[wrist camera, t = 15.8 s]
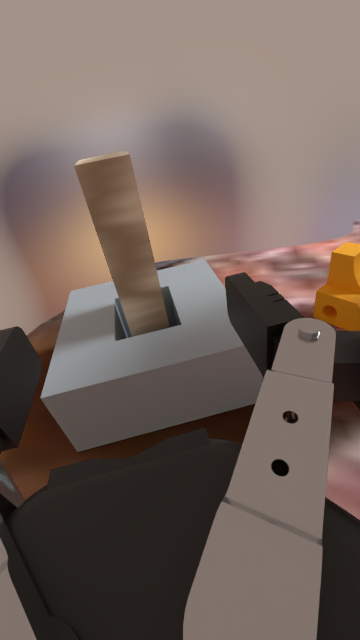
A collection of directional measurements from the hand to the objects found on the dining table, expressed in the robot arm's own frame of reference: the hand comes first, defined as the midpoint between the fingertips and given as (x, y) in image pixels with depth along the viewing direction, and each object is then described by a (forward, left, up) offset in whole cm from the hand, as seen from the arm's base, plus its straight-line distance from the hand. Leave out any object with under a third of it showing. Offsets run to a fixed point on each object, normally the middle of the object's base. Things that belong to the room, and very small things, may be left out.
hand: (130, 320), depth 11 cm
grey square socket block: (0, -10, -12) cm, 16 cm away
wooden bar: (0, -10, -11) cm, 15 cm away
